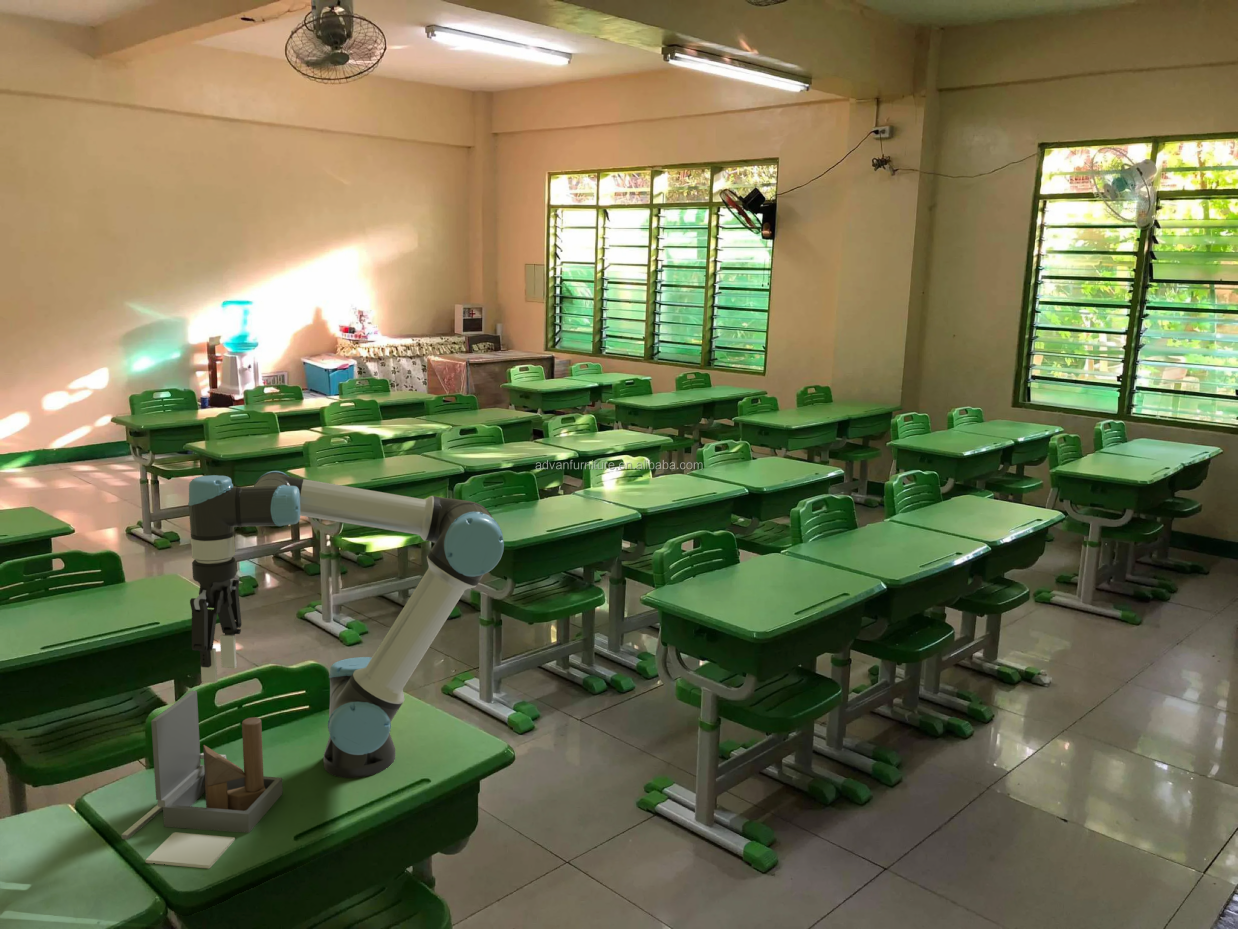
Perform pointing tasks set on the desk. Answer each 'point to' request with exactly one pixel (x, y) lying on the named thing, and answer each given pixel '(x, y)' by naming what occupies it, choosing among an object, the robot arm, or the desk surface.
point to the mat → (190, 850)
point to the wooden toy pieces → (236, 772)
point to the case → (196, 775)
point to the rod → (141, 822)
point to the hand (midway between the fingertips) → (219, 674)
